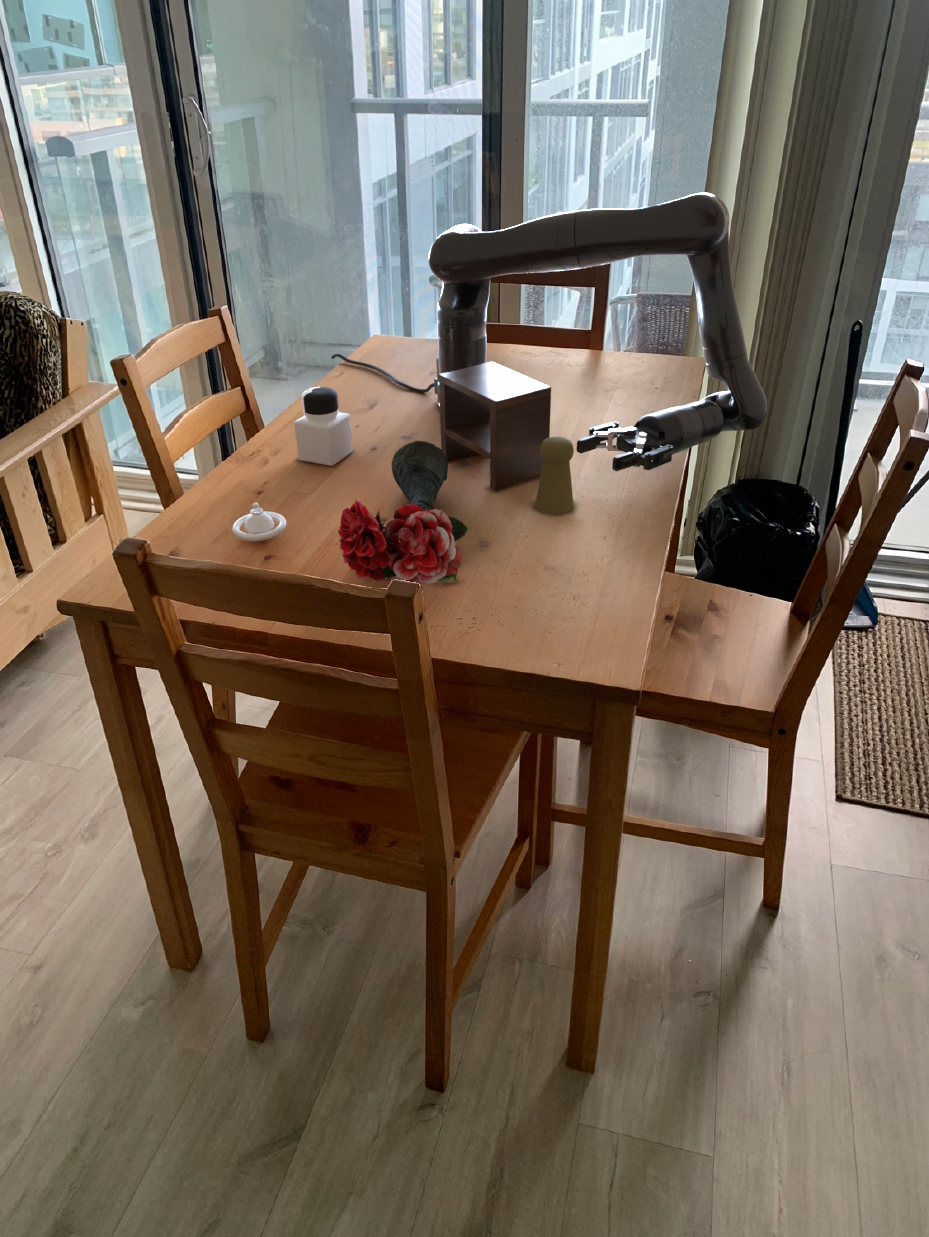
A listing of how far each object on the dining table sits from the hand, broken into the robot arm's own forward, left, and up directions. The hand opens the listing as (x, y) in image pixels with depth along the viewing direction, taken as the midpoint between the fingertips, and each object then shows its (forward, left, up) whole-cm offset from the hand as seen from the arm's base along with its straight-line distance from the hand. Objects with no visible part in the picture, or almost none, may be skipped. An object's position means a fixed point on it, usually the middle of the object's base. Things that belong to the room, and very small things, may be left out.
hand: (595, 455), depth 148 cm
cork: (0, -8, -7) cm, 10 cm away
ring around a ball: (-18, -50, -7) cm, 54 cm away
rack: (-18, -7, -6) cm, 20 cm away
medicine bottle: (-39, -28, -7) cm, 49 cm away
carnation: (-3, -34, -6) cm, 34 cm away
